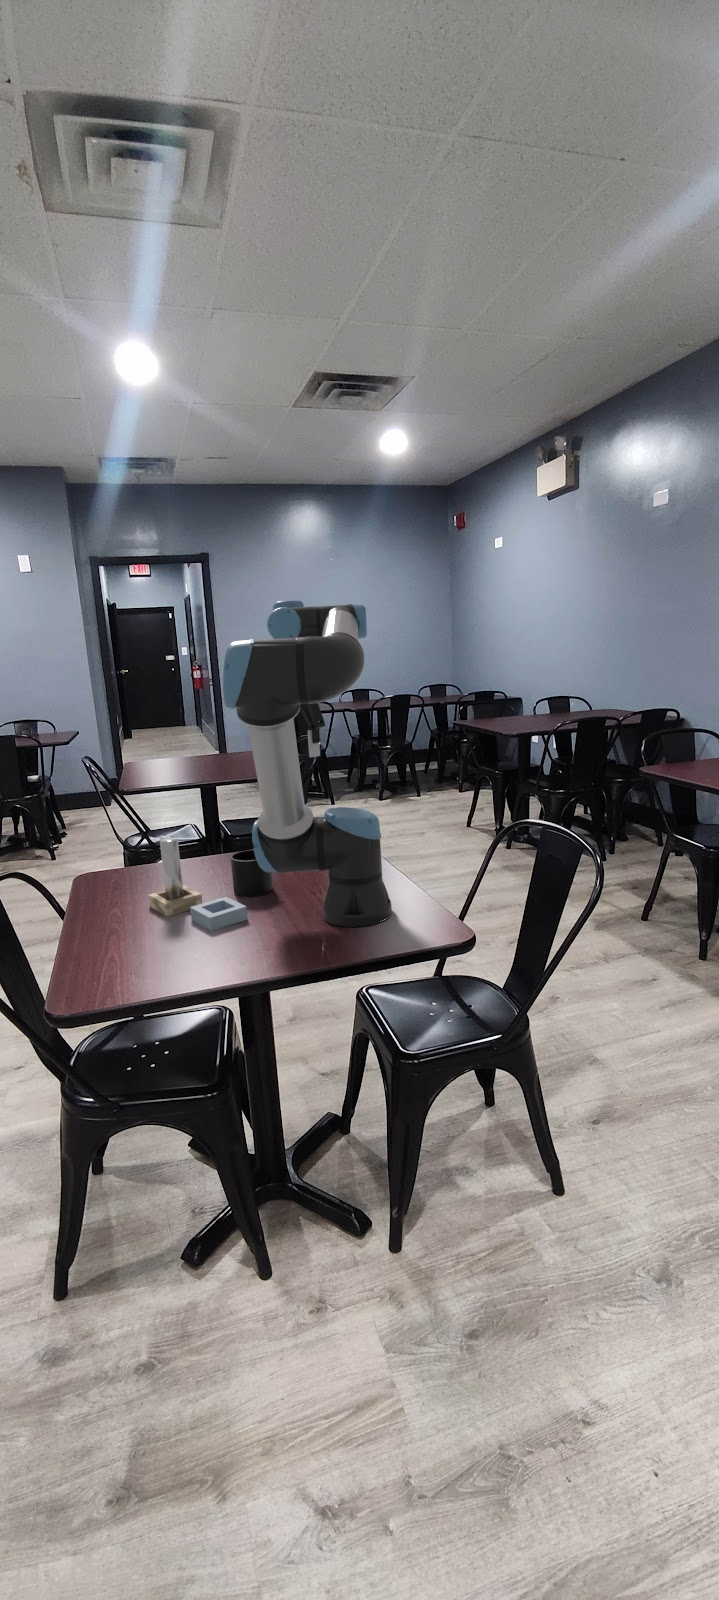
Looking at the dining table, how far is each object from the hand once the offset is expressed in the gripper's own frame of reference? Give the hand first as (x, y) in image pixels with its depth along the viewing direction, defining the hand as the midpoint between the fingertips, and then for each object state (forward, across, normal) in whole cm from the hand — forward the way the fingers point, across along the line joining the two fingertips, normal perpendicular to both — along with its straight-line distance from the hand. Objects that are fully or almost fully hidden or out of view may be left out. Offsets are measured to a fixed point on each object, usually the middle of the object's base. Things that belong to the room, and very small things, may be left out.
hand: (298, 754), depth 179 cm
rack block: (+32, +5, +34) cm, 47 cm away
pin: (+32, +5, +34) cm, 47 cm away
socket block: (+32, -10, +31) cm, 45 cm away
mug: (+32, +2, +15) cm, 35 cm away
